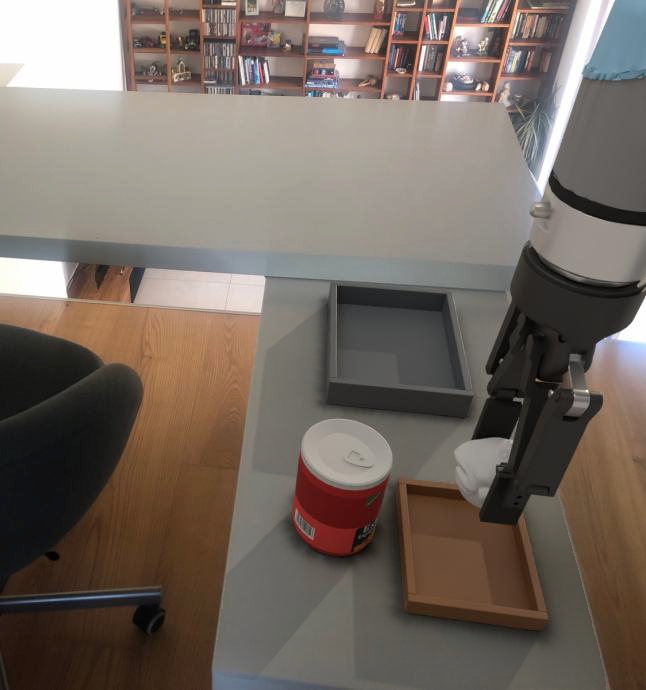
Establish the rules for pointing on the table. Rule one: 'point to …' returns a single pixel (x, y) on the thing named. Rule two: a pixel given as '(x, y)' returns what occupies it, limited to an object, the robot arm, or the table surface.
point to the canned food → (340, 485)
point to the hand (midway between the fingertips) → (490, 485)
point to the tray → (464, 560)
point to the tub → (396, 350)
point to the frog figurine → (479, 466)
